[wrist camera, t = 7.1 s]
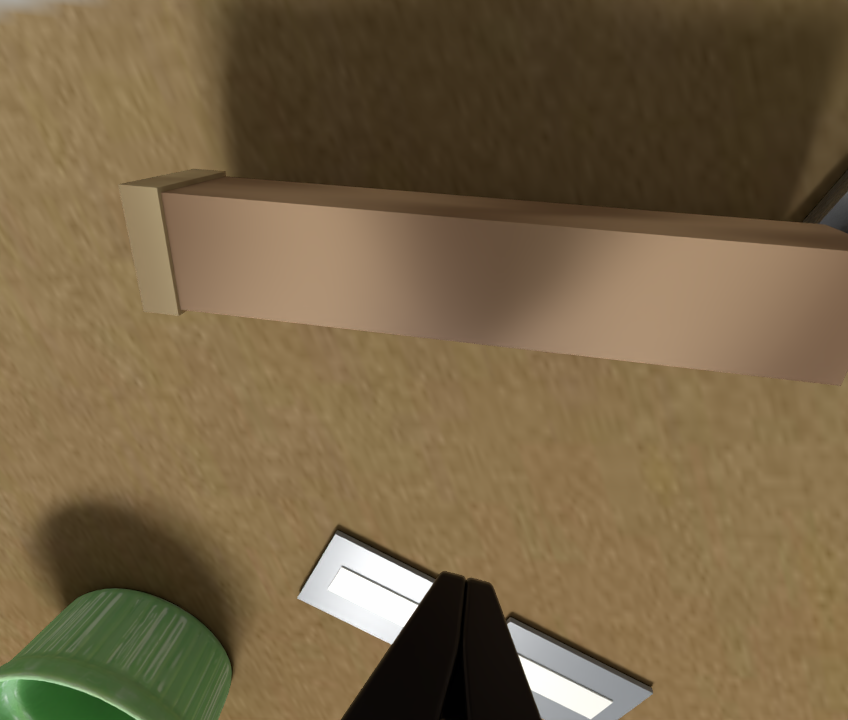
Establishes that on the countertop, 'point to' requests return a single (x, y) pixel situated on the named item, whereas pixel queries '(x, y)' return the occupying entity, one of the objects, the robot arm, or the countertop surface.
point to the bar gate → (498, 272)
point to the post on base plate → (833, 207)
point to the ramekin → (118, 664)
